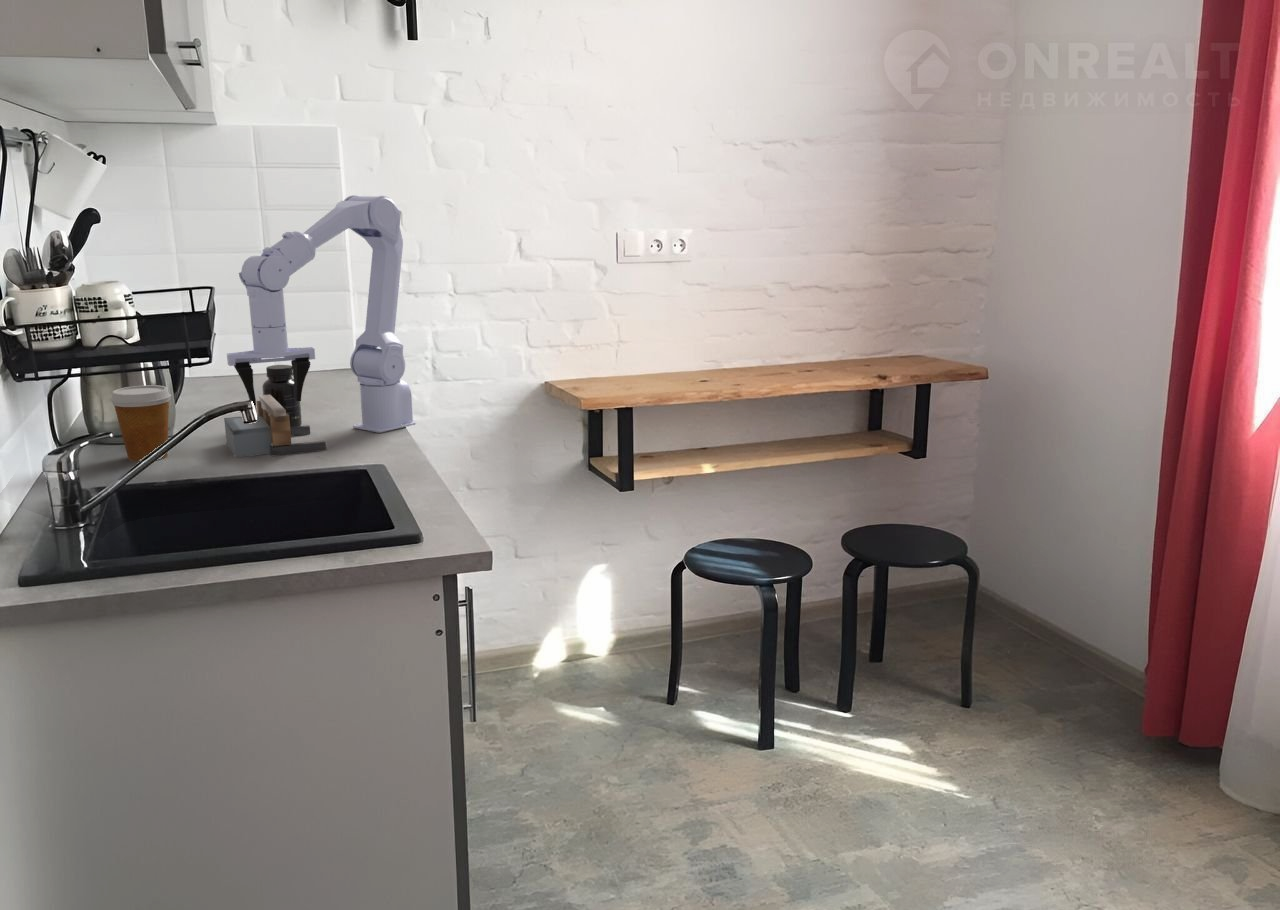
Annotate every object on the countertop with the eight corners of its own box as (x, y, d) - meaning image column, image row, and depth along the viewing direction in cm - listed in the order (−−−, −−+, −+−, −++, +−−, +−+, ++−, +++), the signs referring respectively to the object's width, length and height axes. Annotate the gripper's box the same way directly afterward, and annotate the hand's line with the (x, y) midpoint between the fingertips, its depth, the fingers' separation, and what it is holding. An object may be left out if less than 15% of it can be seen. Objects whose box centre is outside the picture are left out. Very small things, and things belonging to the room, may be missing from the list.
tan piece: (276, 431, 203) (272, 394, 201) (291, 449, 190) (288, 409, 188) (259, 433, 202) (256, 395, 200) (274, 451, 188) (270, 411, 186)
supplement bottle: (258, 428, 209) (252, 367, 206) (284, 421, 215) (279, 362, 212) (283, 432, 206) (278, 370, 203) (309, 425, 212) (305, 365, 209)
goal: (261, 439, 200) (259, 414, 199) (272, 453, 190) (270, 426, 189) (226, 443, 197) (224, 418, 196) (235, 457, 187) (233, 430, 186)
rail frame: (309, 432, 206) (308, 425, 205) (326, 449, 193) (325, 441, 192) (257, 438, 201) (256, 430, 201) (271, 455, 188) (270, 447, 188)
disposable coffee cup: (113, 466, 182) (104, 396, 179) (123, 452, 191) (115, 386, 188) (173, 462, 184) (166, 393, 181) (181, 449, 193) (173, 383, 190)
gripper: (306, 320, 194) (312, 394, 197) (221, 325, 187) (229, 402, 190) (315, 325, 188) (321, 401, 191) (227, 330, 181) (235, 409, 184)
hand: (275, 402), depth 190 cm, fingers open, 7 cm apart
